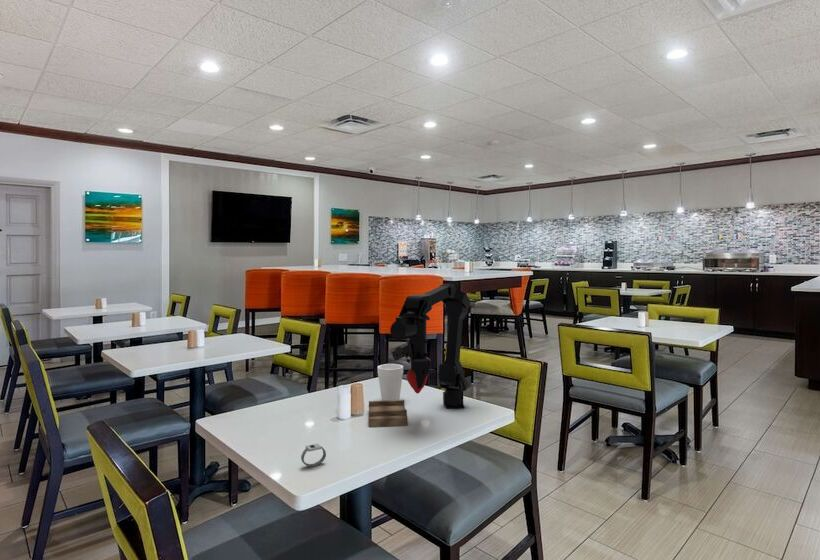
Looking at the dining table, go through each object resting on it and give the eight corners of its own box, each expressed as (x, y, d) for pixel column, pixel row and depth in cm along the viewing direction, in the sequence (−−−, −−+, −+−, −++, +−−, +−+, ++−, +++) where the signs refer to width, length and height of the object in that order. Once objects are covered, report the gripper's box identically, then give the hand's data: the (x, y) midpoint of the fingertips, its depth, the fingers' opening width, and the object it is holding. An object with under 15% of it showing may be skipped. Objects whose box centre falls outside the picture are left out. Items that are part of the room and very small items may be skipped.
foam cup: (406, 399, 176) (406, 364, 175) (400, 406, 167) (399, 370, 166) (381, 397, 178) (381, 363, 177) (374, 405, 169) (374, 368, 168)
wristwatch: (323, 460, 122) (323, 441, 122) (327, 464, 120) (327, 445, 120) (300, 466, 119) (299, 446, 119) (303, 470, 117) (303, 450, 117)
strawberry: (417, 397, 144) (417, 365, 143) (402, 392, 149) (402, 361, 149) (432, 394, 147) (431, 362, 147) (416, 389, 153) (416, 358, 153)
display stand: (403, 409, 164) (403, 397, 163) (407, 425, 148) (407, 412, 148) (368, 410, 163) (368, 399, 162) (369, 426, 147) (368, 414, 146)
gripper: (389, 331, 156) (390, 378, 157) (394, 341, 138) (394, 394, 138) (423, 331, 157) (423, 377, 158) (431, 340, 139) (432, 393, 139)
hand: (417, 385), depth 148 cm, fingers closed on strawberry, 7 cm apart
